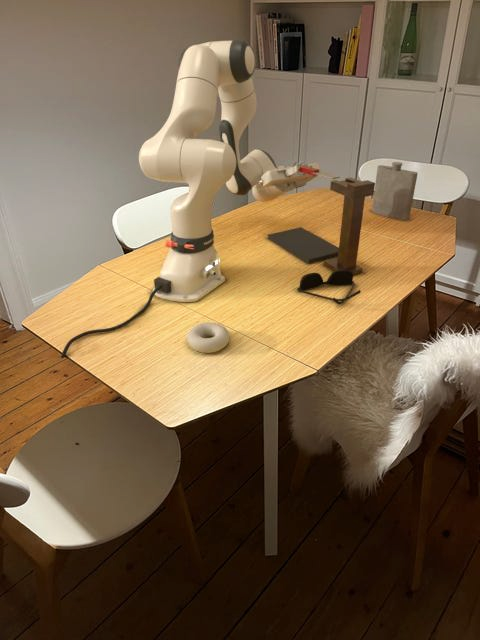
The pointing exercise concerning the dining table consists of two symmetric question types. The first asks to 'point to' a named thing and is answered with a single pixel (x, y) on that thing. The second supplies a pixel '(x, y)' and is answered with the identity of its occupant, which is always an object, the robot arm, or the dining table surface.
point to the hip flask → (394, 191)
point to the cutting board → (304, 245)
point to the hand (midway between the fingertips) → (303, 167)
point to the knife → (316, 172)
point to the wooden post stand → (350, 222)
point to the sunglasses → (328, 283)
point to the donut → (208, 344)
